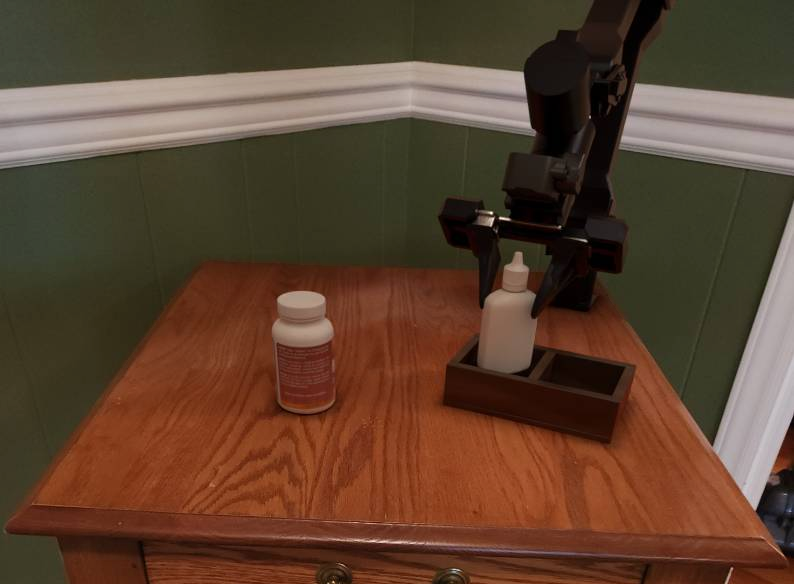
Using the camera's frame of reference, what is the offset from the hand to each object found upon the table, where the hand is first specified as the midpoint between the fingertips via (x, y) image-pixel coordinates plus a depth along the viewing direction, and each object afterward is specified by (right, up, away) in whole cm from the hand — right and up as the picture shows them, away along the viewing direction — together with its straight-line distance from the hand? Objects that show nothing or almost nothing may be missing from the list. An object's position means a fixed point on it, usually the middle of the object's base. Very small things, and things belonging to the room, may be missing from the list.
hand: (506, 312), depth 73 cm
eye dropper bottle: (0, -5, +5) cm, 7 cm away
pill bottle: (-21, -8, +5) cm, 23 cm away
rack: (+4, -8, +6) cm, 11 cm away
